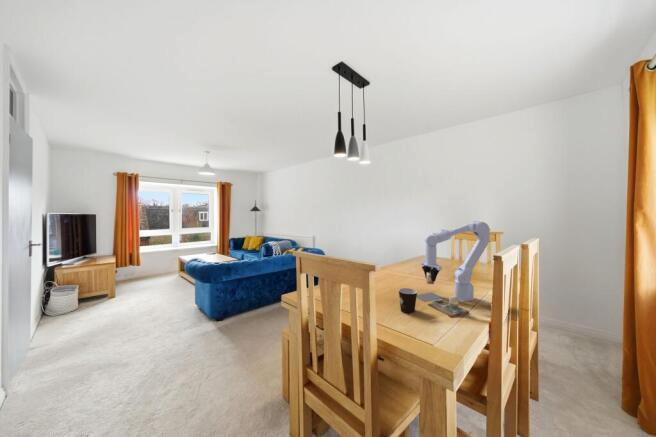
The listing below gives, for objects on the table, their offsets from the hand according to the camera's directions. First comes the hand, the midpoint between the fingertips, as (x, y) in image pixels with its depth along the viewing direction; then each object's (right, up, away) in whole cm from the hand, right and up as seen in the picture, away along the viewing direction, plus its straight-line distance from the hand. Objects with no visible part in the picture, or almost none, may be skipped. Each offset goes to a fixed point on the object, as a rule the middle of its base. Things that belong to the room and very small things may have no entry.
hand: (430, 279), depth 139 cm
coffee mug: (-19, -10, -18) cm, 29 cm away
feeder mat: (-2, -10, -2) cm, 10 cm away
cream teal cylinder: (+2, -9, -21) cm, 23 cm away
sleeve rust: (0, -2, 0) cm, 2 cm away
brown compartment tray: (+1, -10, -18) cm, 21 cm away
